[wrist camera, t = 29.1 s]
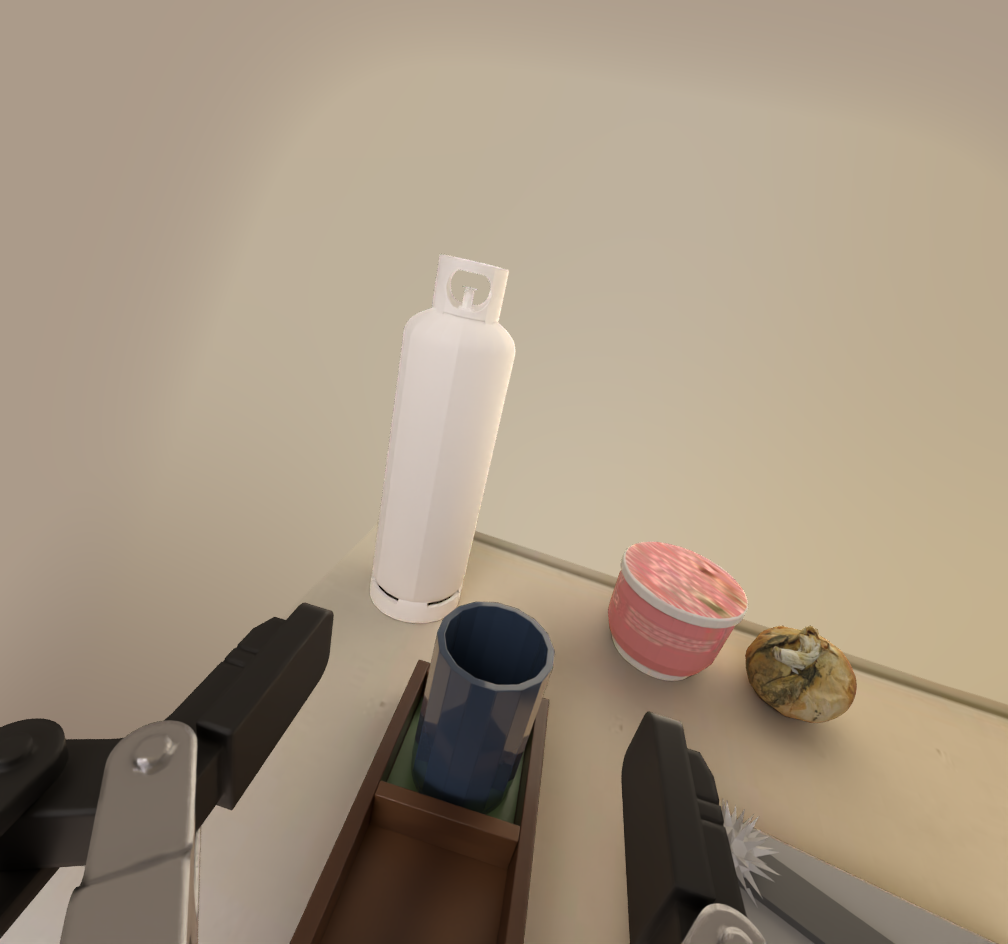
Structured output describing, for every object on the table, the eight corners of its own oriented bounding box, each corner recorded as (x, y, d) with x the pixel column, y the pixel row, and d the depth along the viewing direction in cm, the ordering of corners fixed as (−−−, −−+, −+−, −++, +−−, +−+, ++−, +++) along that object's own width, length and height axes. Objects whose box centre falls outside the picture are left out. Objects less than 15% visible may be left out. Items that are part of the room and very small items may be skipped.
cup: (394, 799, 27) (421, 667, 23) (429, 708, 33) (456, 589, 29) (502, 835, 26) (548, 707, 22) (519, 736, 32) (558, 620, 28)
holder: (253, 1056, 18) (253, 1020, 17) (412, 691, 34) (418, 659, 33) (487, 1144, 18) (505, 1114, 16) (538, 730, 34) (549, 699, 33)
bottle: (359, 615, 40) (405, 247, 29) (379, 558, 47) (421, 247, 36) (457, 629, 41) (539, 279, 30) (461, 571, 48) (528, 273, 37)
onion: (842, 760, 37) (899, 685, 34) (735, 711, 39) (779, 636, 36) (822, 690, 44) (868, 623, 41) (731, 652, 46) (768, 585, 43)
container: (659, 713, 37) (698, 634, 34) (573, 621, 45) (598, 550, 42) (734, 673, 43) (773, 603, 40) (647, 598, 51) (674, 534, 48)
